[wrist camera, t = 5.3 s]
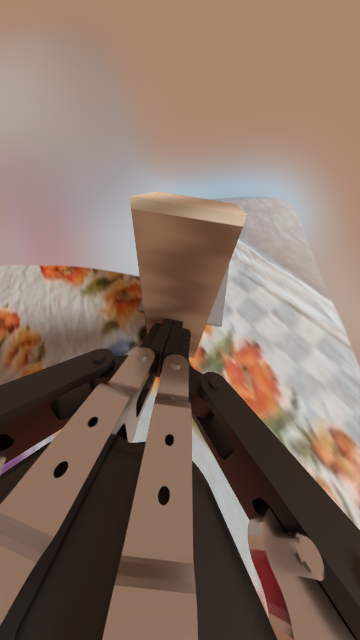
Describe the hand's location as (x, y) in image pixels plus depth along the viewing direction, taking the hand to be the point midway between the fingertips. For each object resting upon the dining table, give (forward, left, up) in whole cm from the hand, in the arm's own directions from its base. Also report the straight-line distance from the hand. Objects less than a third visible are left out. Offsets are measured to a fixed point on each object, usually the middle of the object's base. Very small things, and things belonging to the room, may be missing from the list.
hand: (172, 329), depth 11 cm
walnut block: (0, 0, -5) cm, 5 cm away
